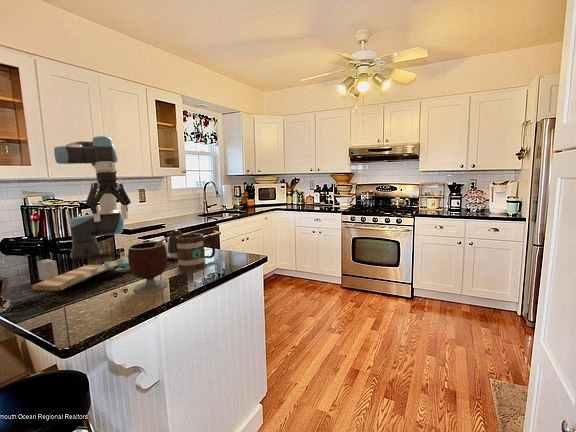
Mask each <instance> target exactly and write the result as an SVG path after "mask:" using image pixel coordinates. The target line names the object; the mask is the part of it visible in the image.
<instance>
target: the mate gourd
mask: <svg viewBox="0 0 576 432" xmlns="http://www.w3.org/2000/svg"><path fill="white" fill-rule="evenodd" d="M166 240H168V238H167V237H165V238H162V239H160V240H158V241H145V242H139V243H135V244H131V245H129V247H128V253H127V254H128V255H127V256H128V261H129V270H130V271H131V273H132V274H133V275H134V276H135V277H136V278H139V279H144V280H146V281H145V282H141V283H140V284H137V285H135V286H134V287H133V291H134V292H135V293H138V294H149V293H154V292H159V291H162V290H163V289H165V288H167V287H168V285H169V284H168V282H167V281H166V280H160V279H158V280H155V279H156V277H158V276H160V275H162V274H163V273H164V272H165V270H166V268H167V265H168V250H167V246H166V245H165V242H164V241H166Z"/></svg>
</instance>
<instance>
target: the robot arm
mask: <svg viewBox="0 0 576 432" xmlns="http://www.w3.org/2000/svg"><path fill="white" fill-rule="evenodd" d="M53 153H54V154H53V155H54V160H55V162H56V164H58V165H59V164H60V165H69V164H71V165H76V164H77V165H78V164H84V165H85V164H90V165H91V167H93V168H94V169H95V175H96V182H91V183H90V189H89V190H90V191H89V193H88V196H87V199H86V201H85V205H86V206H88V207H90V208H91V214H85V215H80V216H76V217H73V218H71V219H70V220H69V228H70V234H71V243H72V246H71V250H70V254H69V257H70V259H71V260H72V259H73V260H82V259H88V258H94V257H98V256H100V255H102V249H101V248H100V245H99V242H98V241H97V237H103V236H111V235H113V236H114V235H119V234H121V233H123V231H124V223H125V220H128V219H129V218H128V212H129V211H128V209H129V207H128V205H130V204H131V203H132V202H131V199H130V198H129V196H128V194H127V192H126V190H125V189H124V184H123V183H118V184H117V179H118V177H117V173H116V163H118V161H119V160H118V157H117V152H116V148H115V146H114V144H113V138H111V137H109V136H99V135H98V136H94V137H92V141H75V142H71V143H67V144H65V145H64V146H63V145H62V146H55V147H53ZM117 201H118V202H119V203H120V204H121V205H120V210H119V209H118V208H117V207H118V205H117ZM98 204H99V205H98Z"/></svg>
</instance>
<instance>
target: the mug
mask: <svg viewBox="0 0 576 432" xmlns="http://www.w3.org/2000/svg"><path fill="white" fill-rule="evenodd" d="M209 238H211V240H212V242H211V250H212V252H211V255H205V246H204V243H205V242H206V241H208V239H209ZM176 243H177V257H178V258H177V262H178V265H177V267H178V268H177V270H178V271H184V272H189V271H197V270H200V269H203V268H205V267H206V262H205V259H212V258H213V257H215V255H216V254H215V253H216V239H215V236H214V235H212V234H208V235H206V236H205V237H204V233H187V234H186V233H185V234H183V235H180V236H176Z"/></svg>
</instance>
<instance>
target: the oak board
mask: <svg viewBox="0 0 576 432" xmlns="http://www.w3.org/2000/svg"><path fill="white" fill-rule="evenodd" d="M102 265H103V264H86V265H84V266H80V267H77V268H75V269H72V270H70V271H67V272H64V273H62V274H60V275H59V274H58V276H56V277H53V278H50V279H48V280H45V281H42V280H41V281H40V282H37V283H35V284H32V285H31V286H32V291H53V292H54V291H58V292H59V291H62V290H61V289H60V287H59V285H61V284H63V283H65V282H67V281H69V280H71V279H73V278H75V277H76V276H78V275H80V274H82V273H85V272H87V271H90V270H92V269H95V268H97V267H100V266H102Z"/></svg>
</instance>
